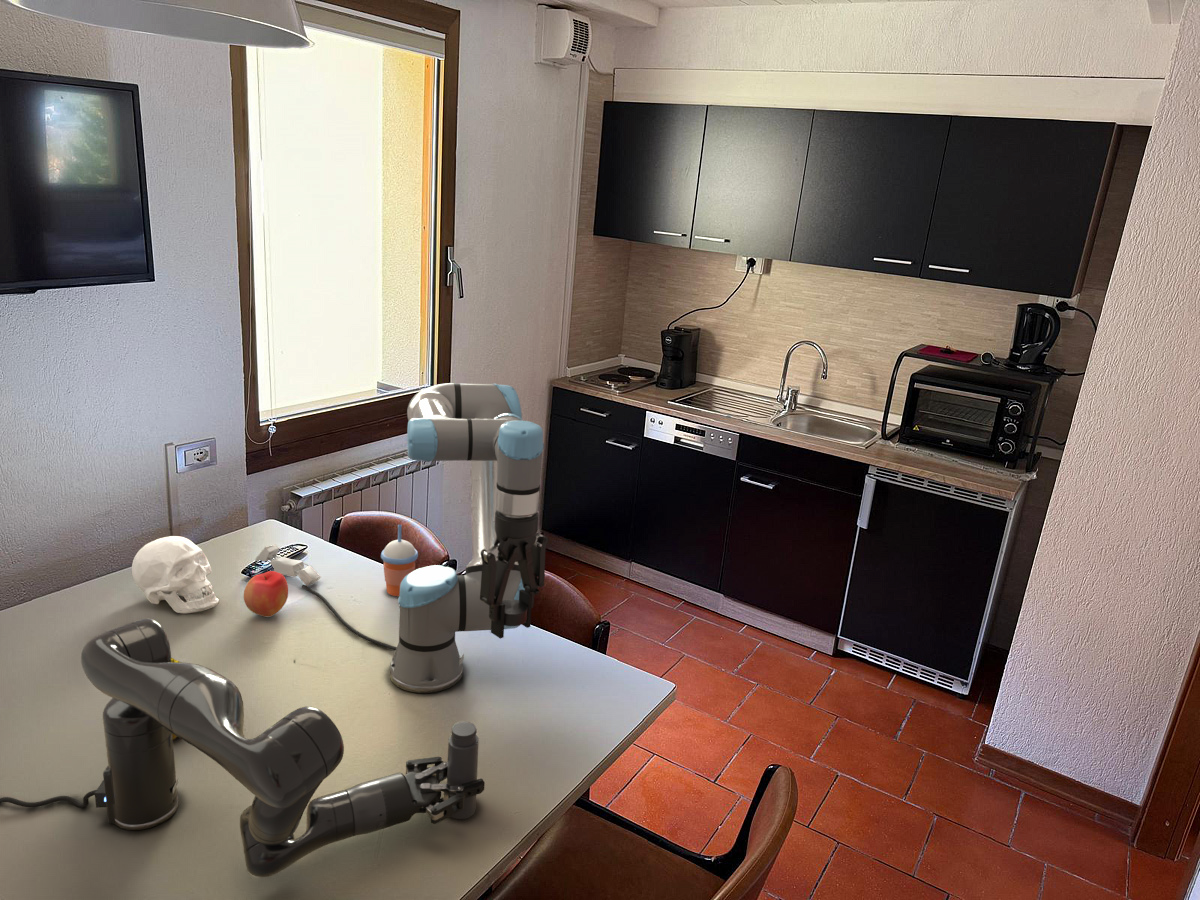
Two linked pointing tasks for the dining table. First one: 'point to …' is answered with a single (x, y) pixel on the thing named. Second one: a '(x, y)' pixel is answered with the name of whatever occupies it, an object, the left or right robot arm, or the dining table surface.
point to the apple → (266, 593)
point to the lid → (515, 612)
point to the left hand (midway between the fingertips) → (476, 774)
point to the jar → (463, 762)
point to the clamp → (288, 565)
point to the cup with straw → (398, 562)
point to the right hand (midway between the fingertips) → (510, 629)
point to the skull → (174, 574)
